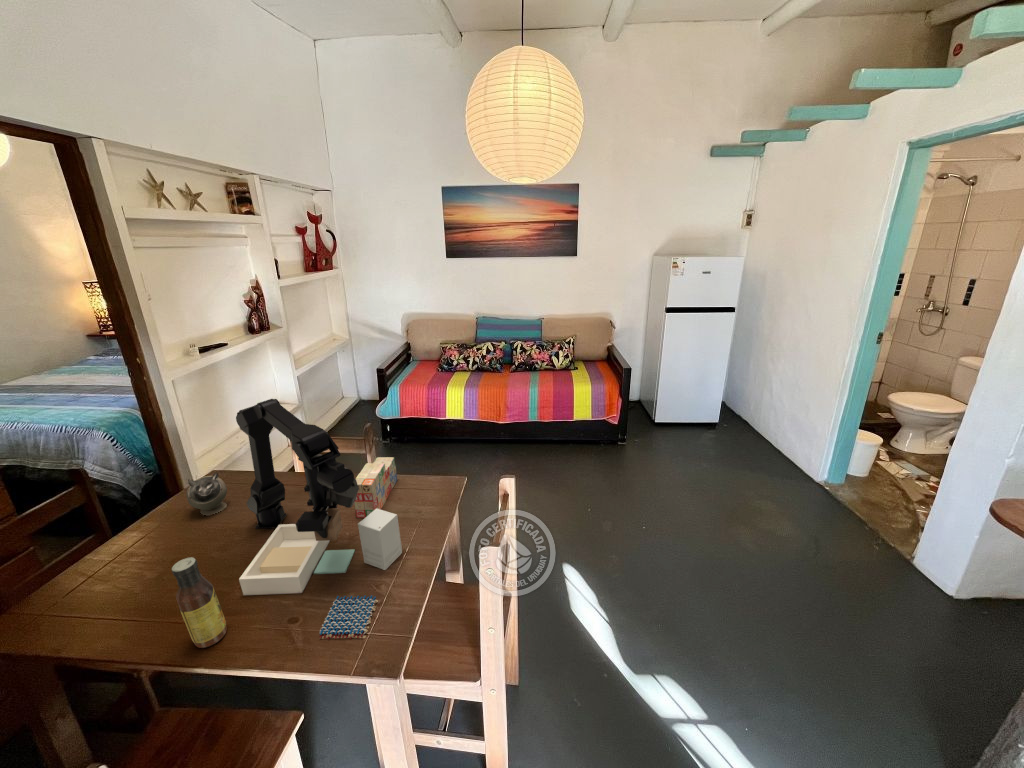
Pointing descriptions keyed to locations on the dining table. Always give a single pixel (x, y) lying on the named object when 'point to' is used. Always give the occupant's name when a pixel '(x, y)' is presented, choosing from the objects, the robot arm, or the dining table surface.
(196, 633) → the sauce bottle
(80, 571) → the dining table surface
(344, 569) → the teal pad
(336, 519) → the walnut block
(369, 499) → the stack of blocks
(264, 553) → the crate
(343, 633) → the woven mat
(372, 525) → the supplement box
